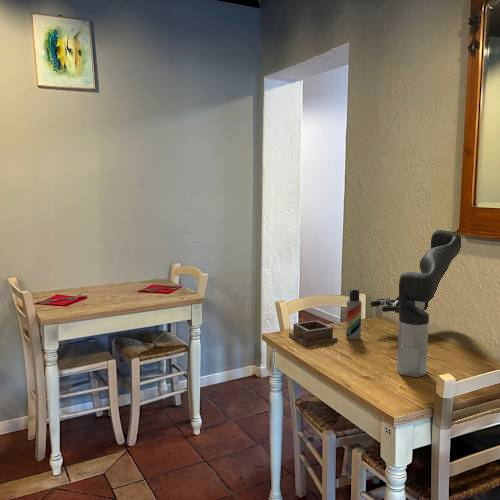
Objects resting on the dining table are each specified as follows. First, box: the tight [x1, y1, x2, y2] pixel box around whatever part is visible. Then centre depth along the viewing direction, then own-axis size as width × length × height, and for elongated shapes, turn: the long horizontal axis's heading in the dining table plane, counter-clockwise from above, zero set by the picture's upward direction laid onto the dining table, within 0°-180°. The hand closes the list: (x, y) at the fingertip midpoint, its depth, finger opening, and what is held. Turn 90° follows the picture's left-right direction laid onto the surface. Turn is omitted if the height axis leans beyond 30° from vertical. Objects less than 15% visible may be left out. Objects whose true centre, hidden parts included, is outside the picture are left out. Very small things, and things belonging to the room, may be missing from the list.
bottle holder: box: [288, 319, 338, 348], centre depth 194 cm, size 14×14×6 cm
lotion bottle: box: [345, 288, 362, 341], centre depth 194 cm, size 6×6×20 cm
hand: (376, 306), depth 197 cm, fingers open, 8 cm apart
